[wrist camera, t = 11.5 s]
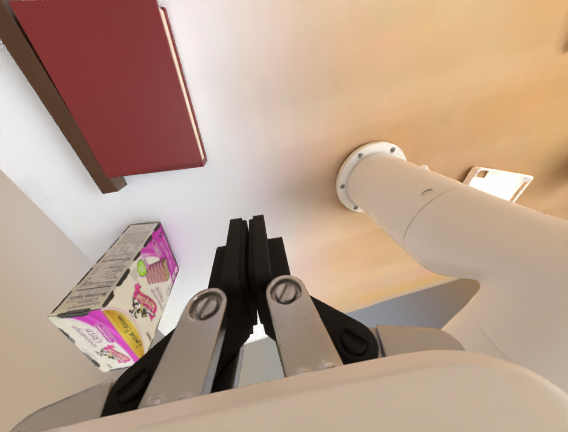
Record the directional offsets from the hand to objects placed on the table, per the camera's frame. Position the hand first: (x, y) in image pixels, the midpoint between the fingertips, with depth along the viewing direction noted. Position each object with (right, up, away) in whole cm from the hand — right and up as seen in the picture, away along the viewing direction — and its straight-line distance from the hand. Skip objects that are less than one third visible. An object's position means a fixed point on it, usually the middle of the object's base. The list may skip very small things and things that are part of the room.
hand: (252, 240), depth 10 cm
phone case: (+44, +7, +31) cm, 54 cm away
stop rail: (-23, +14, +13) cm, 30 cm away
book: (-16, +15, +14) cm, 26 cm away
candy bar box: (-21, -4, +25) cm, 33 cm away
